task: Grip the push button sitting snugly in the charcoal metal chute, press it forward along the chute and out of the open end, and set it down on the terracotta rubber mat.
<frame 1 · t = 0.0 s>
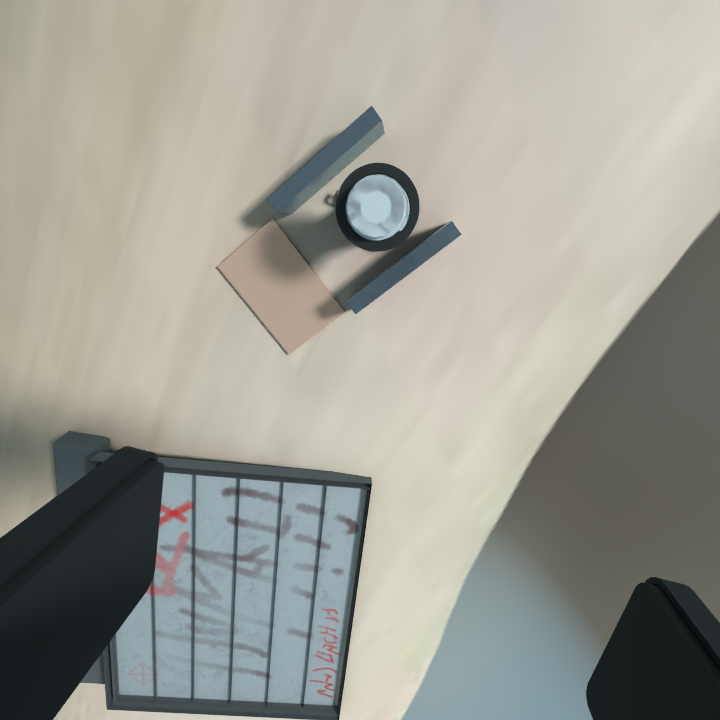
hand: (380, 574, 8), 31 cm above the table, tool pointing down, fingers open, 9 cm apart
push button: (377, 211, 36), on the table
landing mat: (281, 288, 39), on the table
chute: (367, 218, 37), on the table
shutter: (217, 575, 49), on the table
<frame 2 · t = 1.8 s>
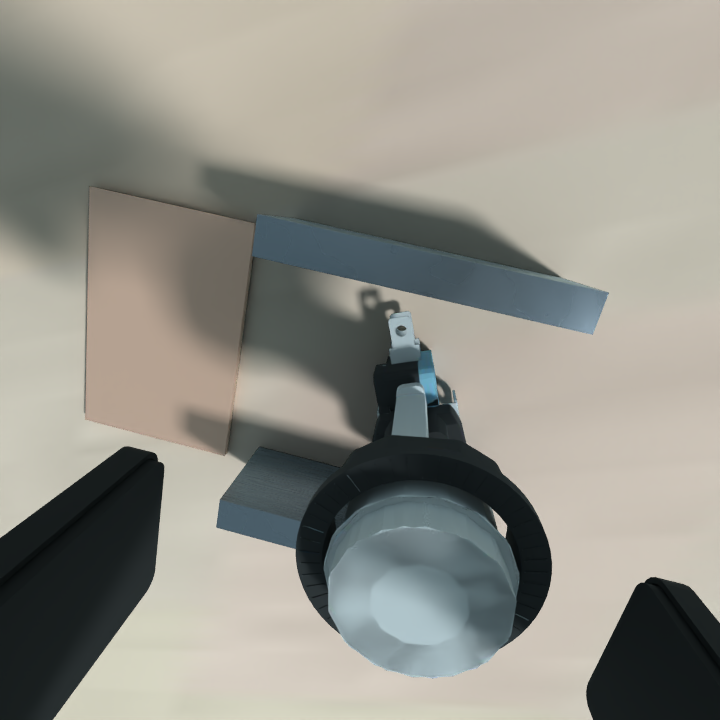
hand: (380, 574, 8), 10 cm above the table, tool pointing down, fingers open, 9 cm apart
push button: (416, 388, 18), on the table
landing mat: (165, 329, 18), on the table
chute: (391, 384, 18), on the table
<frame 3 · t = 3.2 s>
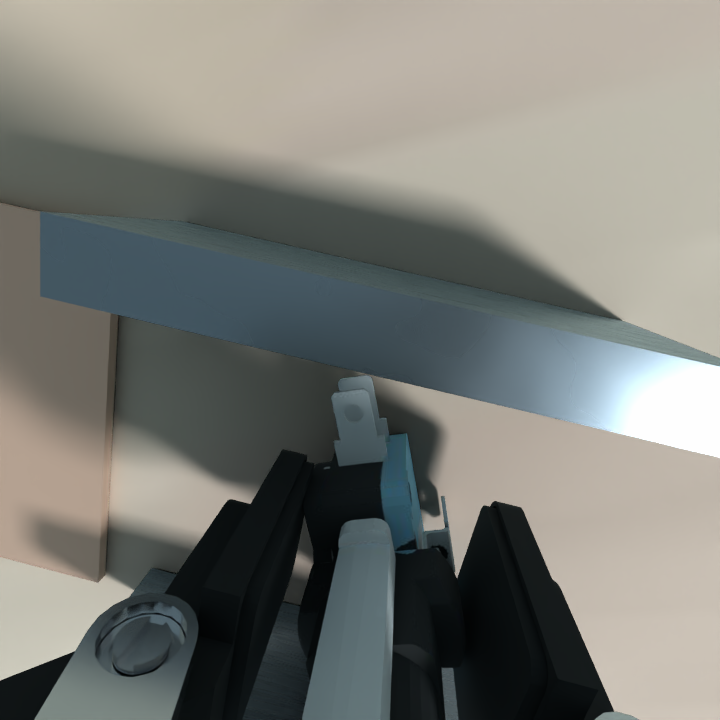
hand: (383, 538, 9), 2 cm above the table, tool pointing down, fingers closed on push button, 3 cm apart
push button: (384, 487, 11), on the table, touching gripper
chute: (349, 482, 11), on the table
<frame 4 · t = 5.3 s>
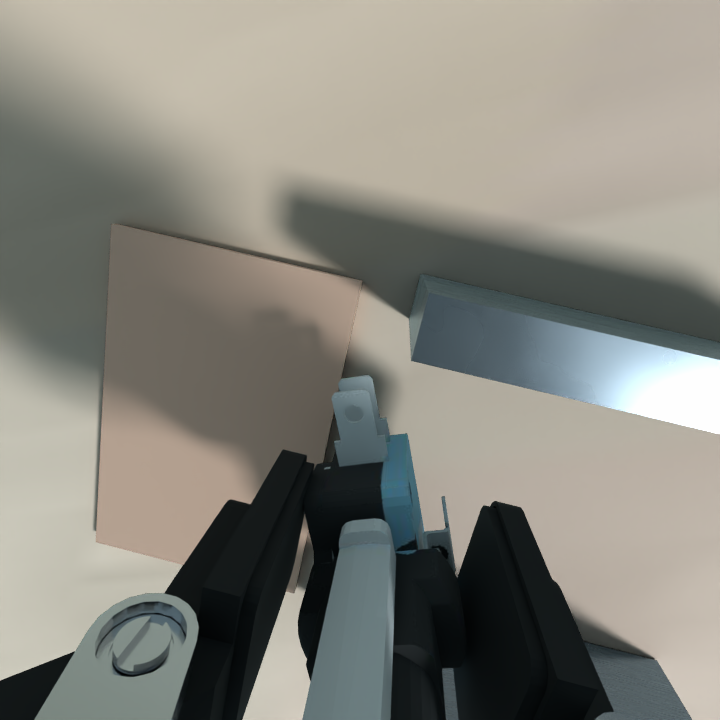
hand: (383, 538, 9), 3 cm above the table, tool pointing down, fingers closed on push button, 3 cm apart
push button: (384, 487, 11), point 1 cm above the table, touching gripper
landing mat: (216, 423, 13), on the table
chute: (543, 504, 12), on the table
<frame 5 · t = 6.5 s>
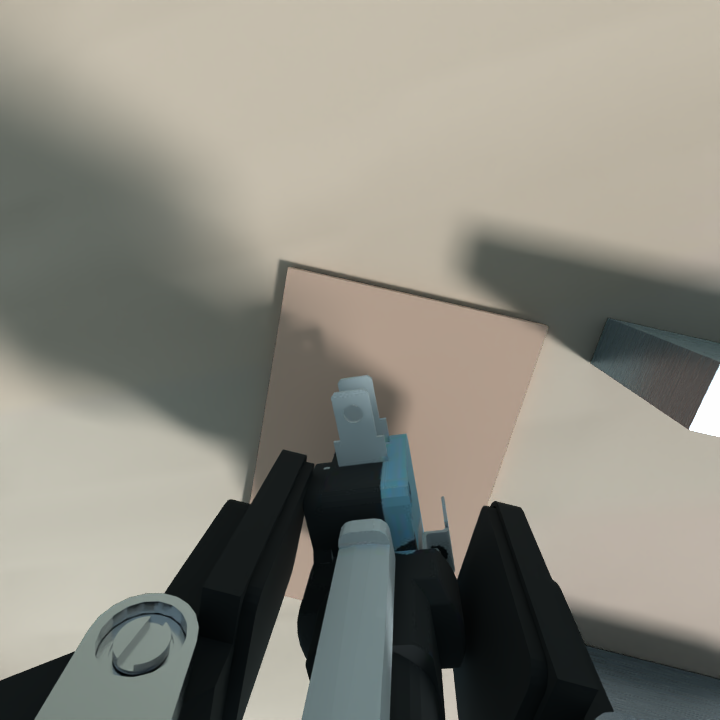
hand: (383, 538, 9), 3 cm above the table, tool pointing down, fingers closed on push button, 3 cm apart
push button: (384, 487, 11), point 1 cm above the table, touching gripper
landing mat: (373, 466, 12), on the table
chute: (712, 548, 12), on the table
when the fingers open (3 cm above the table, at t = 7.5 s): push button moves 1 cm, resting on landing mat.
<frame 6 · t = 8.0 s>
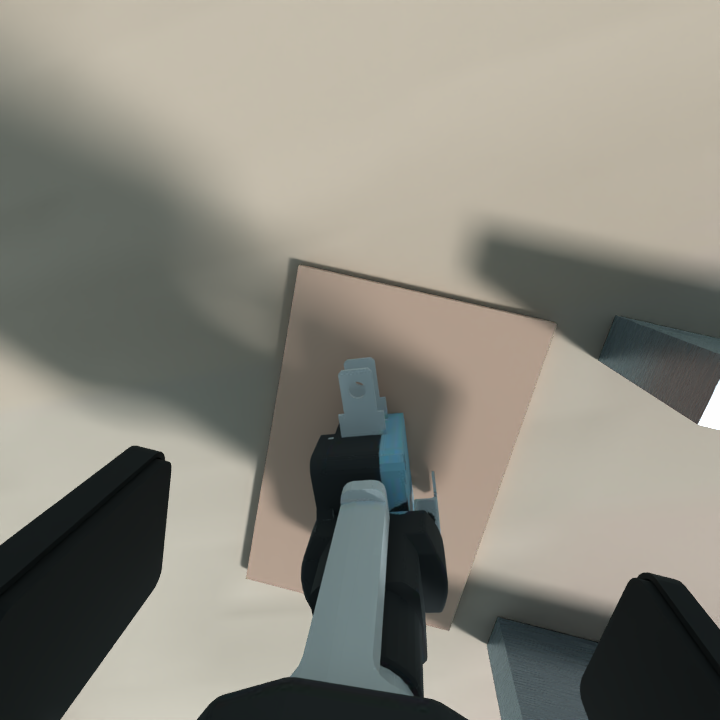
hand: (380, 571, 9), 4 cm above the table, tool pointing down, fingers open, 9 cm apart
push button: (380, 462, 12), resting on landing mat
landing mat: (382, 462, 13), on the table
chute: (719, 544, 12), on the table
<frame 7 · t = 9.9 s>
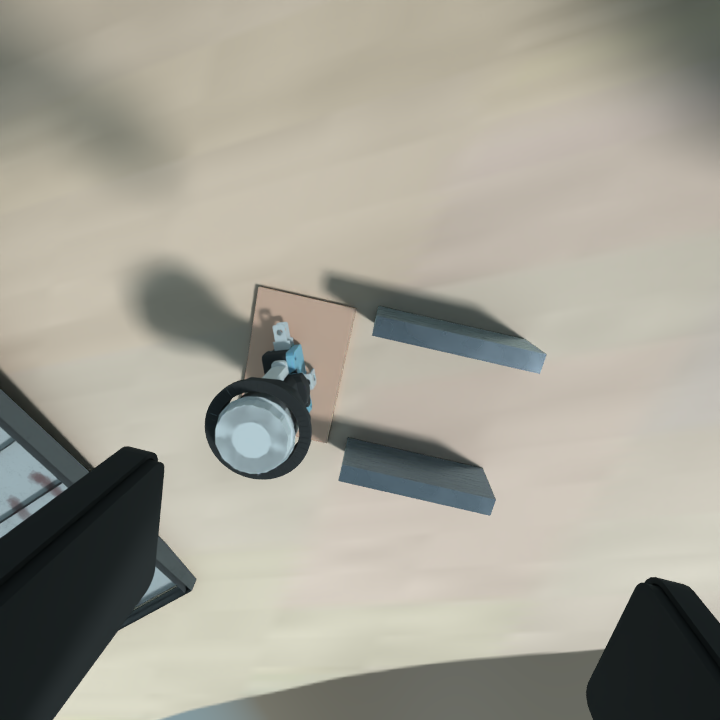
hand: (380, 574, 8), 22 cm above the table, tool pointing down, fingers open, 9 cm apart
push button: (293, 367, 30), resting on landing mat
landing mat: (295, 367, 30), on the table
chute: (430, 398, 30), on the table
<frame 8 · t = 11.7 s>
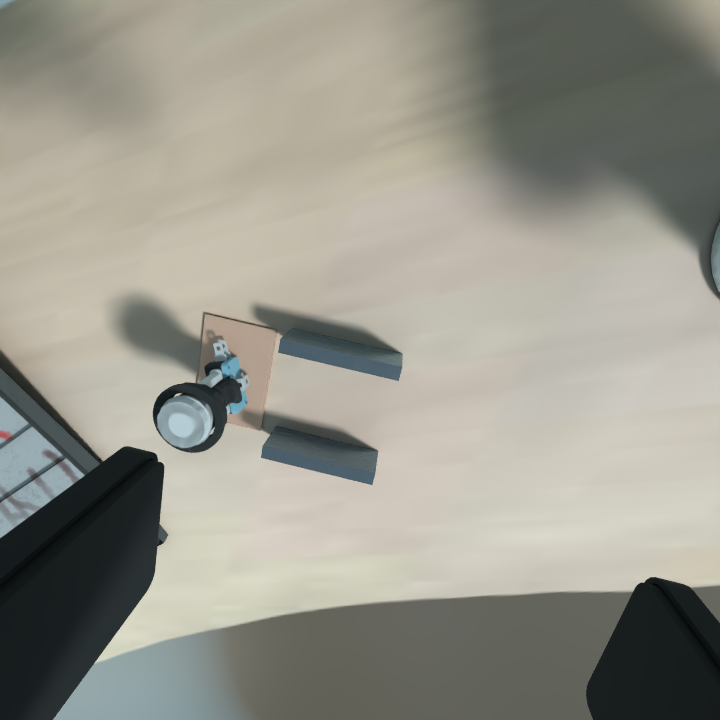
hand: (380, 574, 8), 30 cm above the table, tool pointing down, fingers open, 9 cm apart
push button: (233, 373, 40), resting on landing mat
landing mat: (234, 373, 41), on the table
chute: (335, 397, 40), on the table
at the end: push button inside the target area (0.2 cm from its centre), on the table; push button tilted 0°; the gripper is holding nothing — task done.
